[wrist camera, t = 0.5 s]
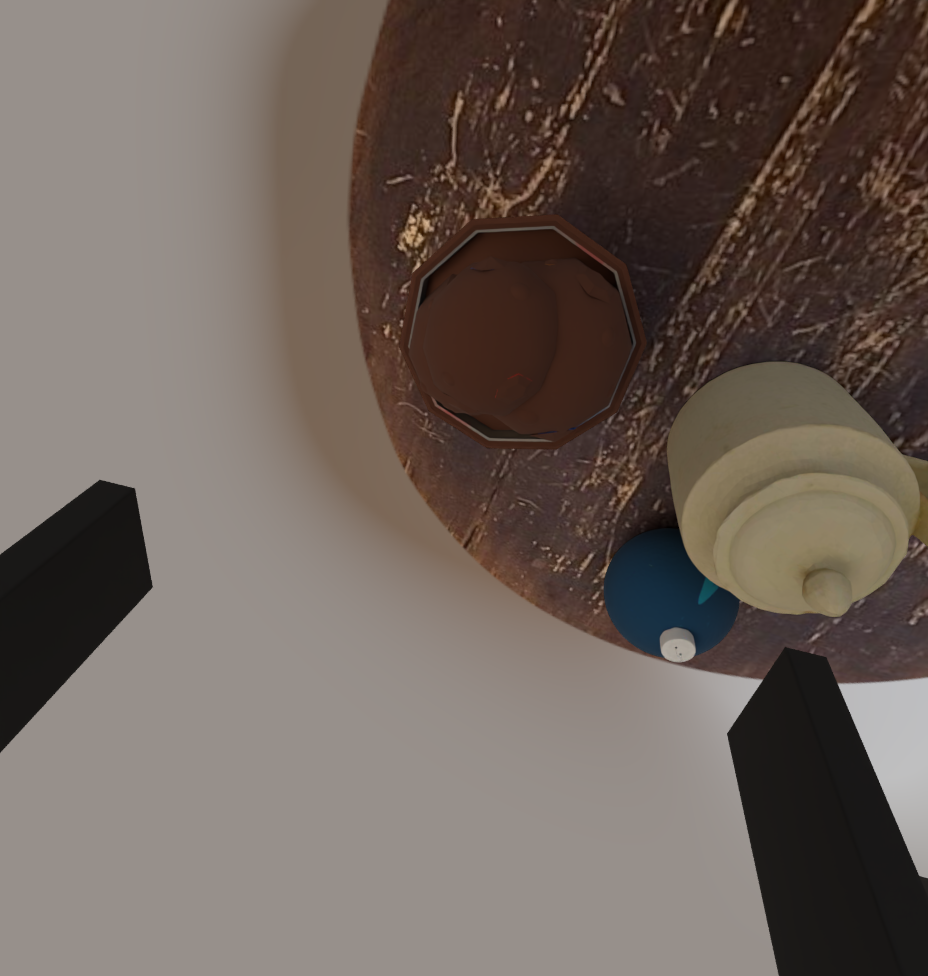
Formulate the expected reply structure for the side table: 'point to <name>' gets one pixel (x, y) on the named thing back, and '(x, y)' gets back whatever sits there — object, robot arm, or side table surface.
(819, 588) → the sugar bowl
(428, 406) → the ice cream bowl
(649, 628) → the christmas ornament
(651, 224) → the side table surface
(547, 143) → the side table surface
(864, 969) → the robot arm
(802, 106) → the side table surface
